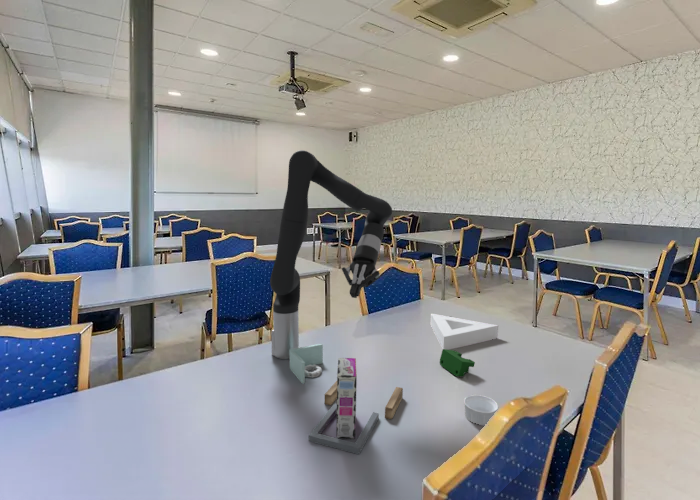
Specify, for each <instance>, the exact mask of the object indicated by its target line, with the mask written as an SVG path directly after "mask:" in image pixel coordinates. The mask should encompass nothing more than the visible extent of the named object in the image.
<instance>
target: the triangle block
mask: <svg viewBox="0 0 700 500" xmlns="http://www.w3.org/2000/svg"><path fill="white" fill-rule="evenodd" d="M429 325H431V326H430V327H432V328H431V329H433V330H432V332H433V333H434V335H435V337H436V339H437V341H438V343H439V345H440V347H441V349H442V350H443V349H446V350H454V349H457V348H462V347H467V346H470V345H471V346H472V345H475V344H479V343H483V342H488V341H491V340H492V339H493V340H496V338H497V339H499V337H498V336H499V335H498V333H499V325H498V324H493V323H487V322H482V321H476V320H470V319H464V318H458V317H453V316H448V315H442V314H436V313H430V324H429Z"/></svg>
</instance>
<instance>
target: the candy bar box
mask: <svg viewBox="0 0 700 500" xmlns="http://www.w3.org/2000/svg"><path fill="white" fill-rule="evenodd" d="M337 360H338V361H337V362H338V363H337V373H336V375H337V377H336V381H337V399H336V404H337V413H336V436H335V438H337V439H348V440H349V439H350V440H351V439H353V440H354V439H355V438H356V422H357V421H356V420H357V419H356V418H357V416H356V415H357V414H356V413H357V385H358V384H357V381H358V380H357V360H356V358H354V357H338V359H337Z"/></svg>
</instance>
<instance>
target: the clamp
mask: <svg viewBox="0 0 700 500" xmlns="http://www.w3.org/2000/svg"><path fill="white" fill-rule="evenodd" d="M462 355H463V354H462V353H461V352H459V351H458V350H454V349H450V350H446V349H442V351H441V354H440V357H439V358H440V359H439V365H440V366H441V367H443V369H445V370H447V371H448V372H449V373H451V374H453V376H455V377H461V378H462V377H464V376H465V374H466V373H469V370H470V368H474V367H475V364H476V362H475V361H474V360H472V359H468V358H465V357H462Z"/></svg>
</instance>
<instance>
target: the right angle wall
mask: <svg viewBox="0 0 700 500" xmlns="http://www.w3.org/2000/svg"><path fill="white" fill-rule="evenodd" d="M323 347H324V346H323V343H316V344H312V345H307V346H301V347H299V348H295V349H290V359H289V370H290V371H291V372H292V373H293V374H294V376H296V378H297V379H298V381H299V382H300V383H301V384H305V383H306V378H305V377H307V378H313V379H314V378H316V377H319V376H320V375H321V374H322V371H323V369H322V367H321V366H319V365H320V364H323V363H324V360H323V359H324V358H323V357H324V354H323V352H324V351H323V350H324V349H323Z"/></svg>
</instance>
